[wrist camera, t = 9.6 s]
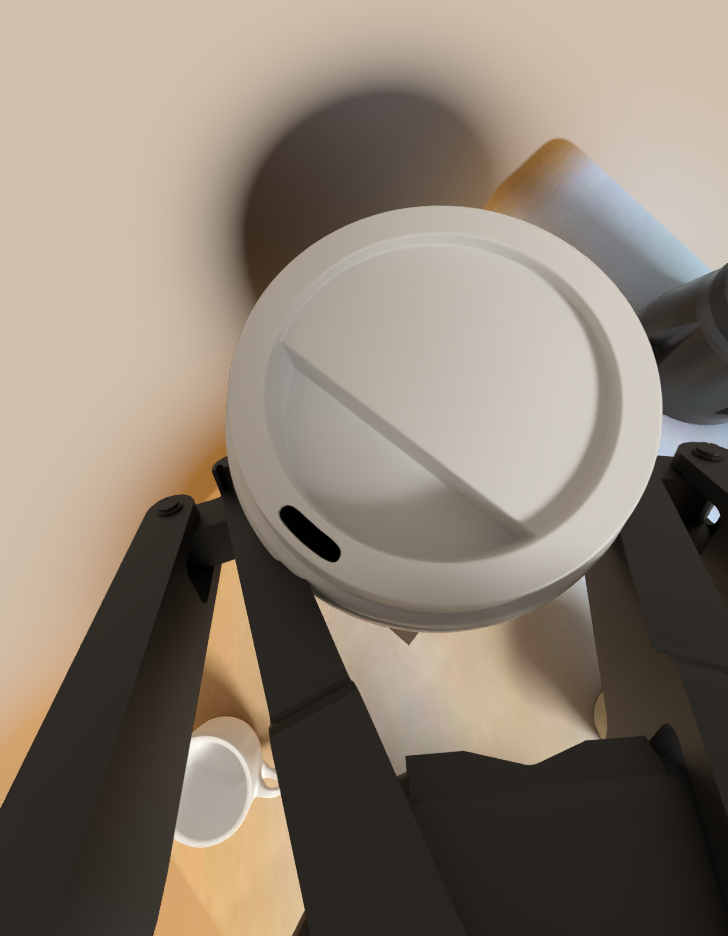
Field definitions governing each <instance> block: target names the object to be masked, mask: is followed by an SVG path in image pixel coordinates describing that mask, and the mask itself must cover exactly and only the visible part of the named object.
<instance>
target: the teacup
mask: <svg viewBox="0 0 728 936" xmlns="http://www.w3.org/2000/svg"><path fill="white" fill-rule="evenodd" d="M263 778H273V779H275V780H277V781H278V779H277V774H276V769H274V768H273V767H271V766H270V765H268V764H267V763H266V762H265V761H264V759H263V756H262V750H261V745H260V742H259V739H258V737H257V735H256V733H255V732H254V730H253V729H252V728H251V727H250V726H249V725H248V724H247V723H246V722H244V721H242V720H240V719H238V718H235V717H227V716H224V717H217V718H213V719H211V720H208V721H207V722H205V723H204V724H202V725H201V726H200V727H198V728H197V729H196V730H195V731H193V732H192V736H191V742H190V748H189V753H188V759H187V765H186V771H185V776H184V782H183V788H182V793H181V799H180V805H179V810H178V816H177V822H176V828H175V833H174V839H175V840H177V841H178V842H180V843H182V844H185V845H187V846H191V847H209V846H213V845H216V844H218V843H220V842H222V841H224V840H226V839H227V838H228V837H230V836H231V835H232V834H233V833H234V832H235V831H236V830H237V829H238V828H239V826H240V825H241V824H242V822H243V820H244V819H245V817H246V814H247V812H248V810H249V807H250V805H251V803H252V801H253V799H254V798H255V797H264V798H273V797H277V796H279V795H280V794H281V793H280V788H279V786H278V787H276V788H270V787H268V786H267V785H266V784H265V783H264V781H263Z"/></svg>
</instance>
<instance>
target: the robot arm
mask: <svg viewBox="0 0 728 936" xmlns="http://www.w3.org/2000/svg"><path fill="white" fill-rule="evenodd" d="M637 317H638V319H639V321H640V323H641V324H642V326H643V329H644V331H645V333H646V335H647V337H648V340H649V342H650V345H651V348H652V351H653V354H654V357H655V360H656V364H657V368H658V373H659V378H660V384H661V392H662V413H664V414H666V415H668V416H670V417H672V418H674V419H677V420H680V421H683V422H687V423H692V424H699V425H715V424H722V423H726V422H728V263H727V264H726V265H724V266H723V267H722V268H720V269H718V270H716V271H713V272H711V273H709V274H707V275H704V276H702V277H700V278H698V279H695V280H693V281H691V282H689V283H687V284H684V285H682V286H680V287H678V288H675V289H673V290H671V291H669V292H667V293H665V294H663V295H662V296H660V297H658V298H657V299H656V300H654V301H653V302H652V303H651V304H650V305H648V306H647V307H646V308H645V309H644V310H643V311H641V312H640V313H639V314H638V315H637ZM212 473H213V476H214V478H215V481H216V483H217V486H218V488H219V491H220V493H221V497H219V498H216V499H213V500H210V501H207V502H203V503H200V504H197V505H196V504H195V502H194V499H193V498H192V497H191V496H188V495H174V496H170V497H166V498H164V499H162V500H160V501H158V502H157V503H156V504H154V505H153V506H152V507H151V508H150V509H149V510H148V511H147V513H146V514H145V516H144V518H143V521H142V523H141V524H140V527H139V529H138V531H137V533H136V535H135V537H134V539H133V541H132V543H131V545H130V547H129V549H128V551H127V553H126V555H125V557H124V559H123V561H122V563H121V565H120V567H119V569H118V571H117V573H116V575H115V577H114V579H113V581H112V583H111V585H110V587H109V589H108V591H107V593H106V595H105V598H104V599H103V601H102V604H101V606H100V608H99V610H98V612H97V614H96V616H95V618H94V620H93V622H92V624H91V626H90V628H89V630H88V632H87V634H86V636H85V638H84V640H83V642H82V644H81V646H80V648H79V650H78V652H77V654H76V656H75V658H74V660H73V662H72V664H71V666H70V668H69V670H68V672H67V674H66V677H65V679H64V681H63V683H62V685H61V687H60V689H59V691H58V693H57V695H56V697H55V699H54V701H53V703H52V705H51V707H50V709H49V711H48V713H47V715H46V717H45V719H44V721H43V723H42V725H41V727H40V729H39V731H38V733H37V735H36V737H35V739H34V741H33V743H32V745H31V747H30V749H29V752H28V753H27V756H26V757H25V760H24V762H23V764H22V766H21V768H20V770H19V772H18V774H17V776H16V778H15V780H14V782H13V784H12V786H11V788H10V790H9V792H8V794H7V796H6V799H5V800H4V803H3V804H2V806H1V808H0V936H153V934H154V930H155V927H156V923H157V920H158V915H159V910H160V906H161V901H162V896H163V891H164V886H165V882H166V878H167V872H168V867H169V862H170V856H171V850H172V845H173V839H174V833H175V828H176V822H177V816H178V810H179V805H180V799H181V793H182V788H183V782H184V776H185V771H186V765H187V759H188V753H189V748H190V742H191V736H192V731H193V725H194V719H195V714H196V708H197V702H198V697H199V691H200V685H201V679H202V674H203V668H204V662H205V657H206V651H207V645H208V640H209V634H210V628H211V622H212V617H213V611H214V605H215V600H216V594H217V588H218V583H219V577H220V571H221V566H222V565H221V564H222V563H225V562H228V561H231V560H234V559H235V561H236V565H237V570H238V574H239V579H240V583H241V588H242V592H243V597H244V601H245V606H246V610H247V615H248V619H249V624H250V629H251V633H252V638H253V642H254V647H255V651H256V656H257V660H258V665H259V669H260V674H261V678H262V683H263V687H264V692H265V696H266V701H267V705H268V710H269V715H270V723H271V724H270V727H269V737H270V744H271V749H272V755H273V759H274V764H275V769H276V774H277V779H278V783H279V788H280V793H281V798H282V802H283V807H284V812H285V817H286V822H287V826H288V831H289V836H290V841H291V845H292V850H293V855H294V860H295V865H296V869H297V874H298V879H299V884H300V888H301V893H302V898H303V903H304V908H305V911H304V913H303V915H302V917H301V919H300V921H299V923H298V925H297V927H296V929H295V931H294V933H293V935H292V936H728V449H726V448H723V447H720V446H718V445H716V444H712V443H710V444H708V443H706V442H688V443H683V444H681V445H679V446H678V448H677V450H676V453H675V455H674V457H670V456H657V457H656V461H655V464H654V468H653V471H652V473H651V476H650V479H649V481H648V484H647V486H646V488H645V490H644V492H643V494H642V496H641V498H640V500H639V502H638V504H637V505H636V507H635V509H634V510H633V512H632V513H631V515H630V516H629V518H628V519H627V521H626V522H625V524H624V526H623V528H622V529H621V531H620V533H619V534H618V536H617V537H616V539H615V540H614V542H613V543H612V544H611V546H610V547H609V548H608V550H607V551H606V552H605V553H604V555H603V556H602V557H601V558H600V559H599V560H598V561H597V562H596V564H595V565H594V566H593V567H592V568H591V569H590V570H589V571H588V572H587V573H586V574H585V579H586V586H587V592H588V599H589V605H590V612H591V618H592V624H593V631H594V637H595V644H596V650H597V657H598V663H599V670H600V676H601V683H602V689H603V696H604V702H605V709H606V716H607V733H606V739H598V740H586V741H584V742H582V743H580V744H578V745H575V746H573V747H571V748H569V749H567V750H565V751H563V752H561V753H559V754H556V755H554V756H552V757H550V758H548V759H546V760H544V761H542V762H540V763H537V764H535V765H524V764H520V763H515V762H511V761H506V760H502V759H497V758H493V757H488V756H484V755H479V754H475V753H470V752H466V751H457V752H446V753H434V754H422V755H411V756H406V769H407V772H405V773H403V774H401V775H399V776H396V774H395V772H394V769H393V767H392V765H391V763H390V760H389V758H388V756H387V753H386V751H385V749H384V747H383V744H382V742H381V740H380V738H379V735H378V733H377V731H376V728H375V726H374V724H373V722H372V719H371V717H370V715H369V713H368V710H367V708H366V706H365V704H364V701H363V699H362V697H361V695H360V693H359V691H358V689H357V687H356V685H355V683H354V682H353V681H352V680H351V679H350V677H349V675H348V673H347V671H346V669H345V667H344V664H343V662H342V660H341V657H340V655H339V653H338V650H337V648H336V646H335V643H334V641H333V639H332V636H331V634H330V632H329V629H328V627H327V625H326V622H325V620H324V618H323V616H322V613H321V611H320V609H319V606H318V604H317V602H316V599H315V597H314V595H313V592H312V590H311V588H310V585H309V583H308V581H307V580H306V579H303V578H301V577H299V576H297V575H295V574H294V573H292V572H291V571H290V570H289V569H288V568H287V567H286V566H285V565H284V564H283V563H282V562H281V561H278V560H276V559H275V558H274V557H273V556H272V555H271V554H270V553H269V551H268V550H267V549H266V548H265V546H264V545H263V543H262V542H261V541H260V539H259V538H258V536H257V535H256V533H255V531H254V530H253V528H252V526H251V525H250V523H249V521H248V519H247V517H246V515H245V513H244V511H243V509H242V506H241V504H240V502H239V499H238V496H237V494H236V491H235V488H234V484H233V481H232V477H231V473H230V468H229V463H228V456H227V457H224V458H222V459H221V460H219V461H218V462H216V463H215V464H214V466H213V468H212ZM714 505H715V506H716V508H717V509H718V510H719V513H720V517H719V519H718V520H717V522H716V523H715V524H714V523H713V522H711V521H710V520H709V519H708V518H707V516H708V515H709V513H710V511H711V509H712V508H713V506H714Z"/></svg>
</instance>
